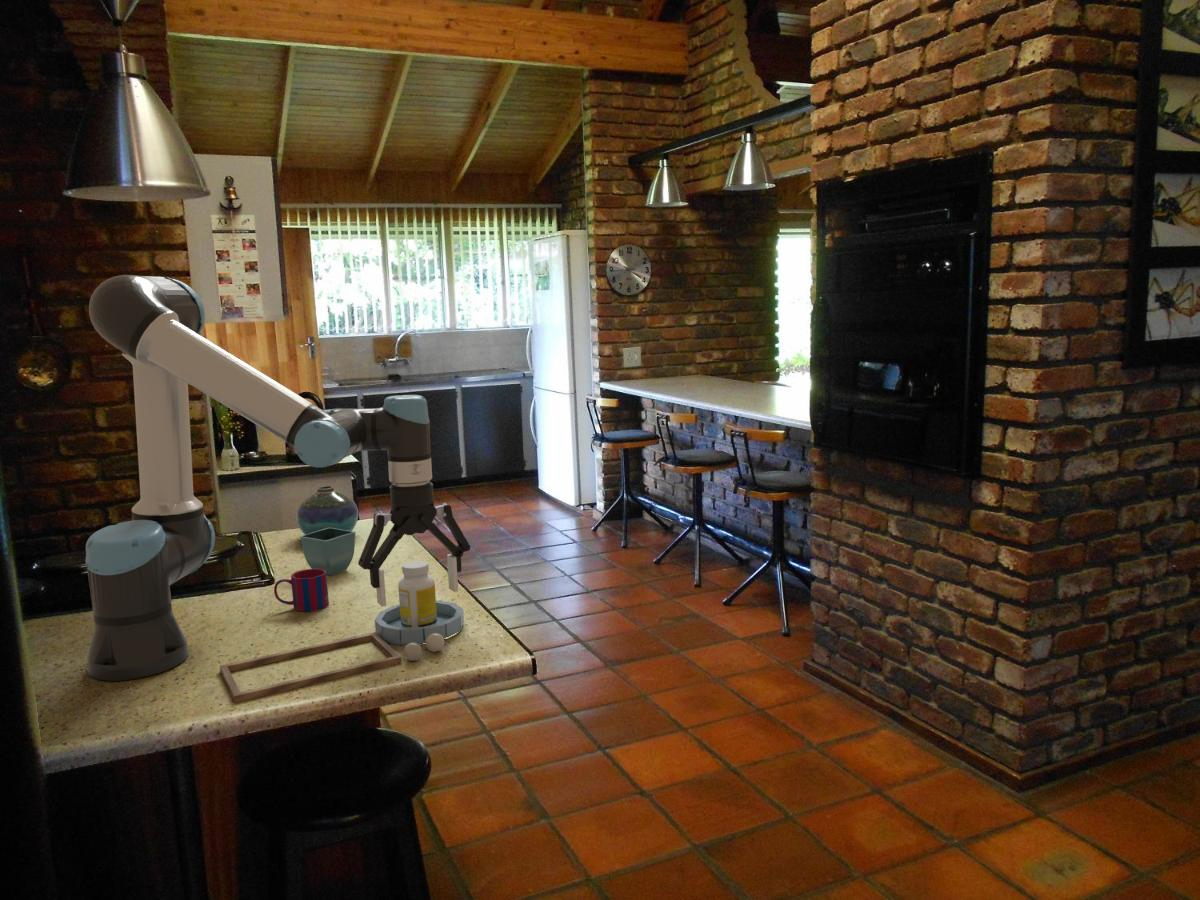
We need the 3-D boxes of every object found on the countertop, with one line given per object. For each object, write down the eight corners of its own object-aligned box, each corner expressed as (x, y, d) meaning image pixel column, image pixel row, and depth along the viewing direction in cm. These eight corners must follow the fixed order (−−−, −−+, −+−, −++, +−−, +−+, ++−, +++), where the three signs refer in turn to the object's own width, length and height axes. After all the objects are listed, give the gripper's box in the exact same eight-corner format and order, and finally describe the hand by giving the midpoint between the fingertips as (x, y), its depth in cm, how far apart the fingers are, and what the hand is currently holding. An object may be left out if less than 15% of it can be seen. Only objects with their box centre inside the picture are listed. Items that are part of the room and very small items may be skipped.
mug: (328, 609, 174) (326, 576, 173) (275, 616, 172) (272, 582, 171) (329, 599, 181) (326, 567, 180) (277, 605, 178) (274, 572, 177)
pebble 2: (430, 656, 149) (428, 638, 149) (423, 650, 152) (422, 632, 151) (447, 652, 151) (446, 634, 150) (441, 646, 154) (439, 628, 153)
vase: (322, 528, 240) (318, 480, 238) (371, 531, 235) (367, 482, 233) (285, 543, 226) (281, 492, 224) (337, 547, 221) (332, 494, 219)
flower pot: (329, 580, 194) (325, 540, 192) (301, 574, 198) (298, 536, 197) (359, 569, 201) (356, 531, 199) (332, 564, 206) (329, 527, 204)
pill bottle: (444, 621, 163) (440, 561, 161) (424, 634, 157) (420, 571, 155) (414, 617, 166) (410, 558, 164) (393, 629, 160) (389, 567, 158)
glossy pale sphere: (407, 665, 146) (406, 647, 145) (401, 659, 148) (400, 642, 148) (425, 661, 147) (423, 643, 147) (418, 655, 150) (417, 638, 149)
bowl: (393, 652, 151) (392, 636, 151) (366, 626, 164) (365, 611, 164) (476, 633, 159) (475, 617, 159) (444, 609, 172) (443, 595, 172)
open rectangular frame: (235, 702, 134) (234, 696, 133) (220, 671, 145) (219, 665, 145) (401, 662, 147) (401, 657, 147) (375, 637, 159) (375, 632, 158)
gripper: (346, 495, 148) (356, 616, 151) (484, 476, 161) (489, 589, 164) (334, 488, 154) (344, 604, 158) (467, 471, 167) (473, 579, 170)
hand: (418, 597), depth 161 cm, fingers open, 13 cm apart
